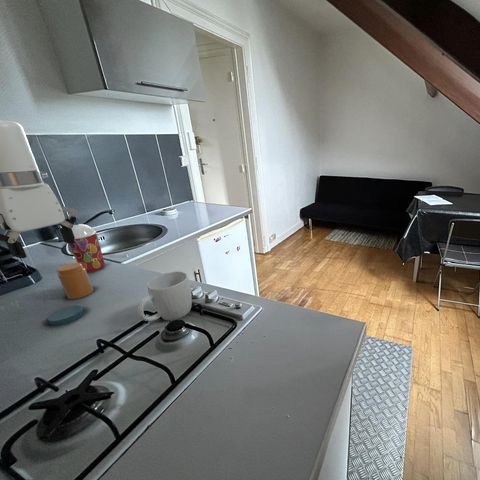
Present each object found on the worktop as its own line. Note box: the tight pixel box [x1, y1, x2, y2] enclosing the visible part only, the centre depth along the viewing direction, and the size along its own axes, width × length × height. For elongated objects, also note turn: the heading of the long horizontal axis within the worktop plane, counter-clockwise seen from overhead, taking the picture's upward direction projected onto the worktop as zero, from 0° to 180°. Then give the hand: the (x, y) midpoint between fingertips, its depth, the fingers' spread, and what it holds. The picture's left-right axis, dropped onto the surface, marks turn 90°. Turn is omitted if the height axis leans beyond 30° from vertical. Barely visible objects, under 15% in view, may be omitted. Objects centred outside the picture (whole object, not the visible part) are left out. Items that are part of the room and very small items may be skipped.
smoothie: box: [67, 219, 105, 273], centre depth 91 cm, size 8×8×20 cm
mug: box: [136, 271, 193, 322], centre depth 65 cm, size 13×9×10 cm
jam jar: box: [56, 262, 94, 300], centre depth 77 cm, size 6×6×10 cm
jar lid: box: [47, 304, 85, 327], centre depth 67 cm, size 7×7×2 cm
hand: (47, 249), depth 65 cm, fingers open, 9 cm apart
